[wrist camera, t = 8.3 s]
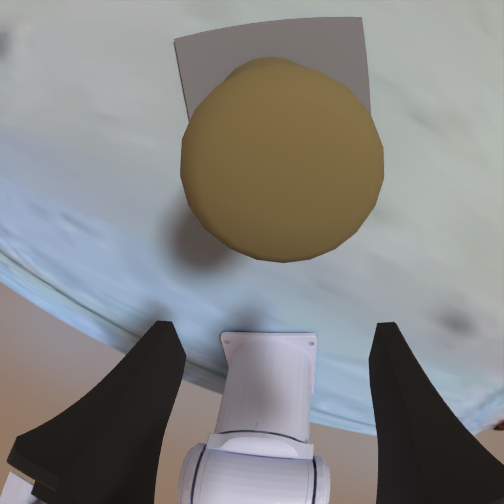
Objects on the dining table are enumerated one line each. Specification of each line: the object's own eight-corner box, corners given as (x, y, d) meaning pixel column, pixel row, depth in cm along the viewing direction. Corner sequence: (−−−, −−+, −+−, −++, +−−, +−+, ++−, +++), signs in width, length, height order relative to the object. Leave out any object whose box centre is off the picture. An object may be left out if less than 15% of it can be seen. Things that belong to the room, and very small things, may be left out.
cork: (217, 164, 17) (168, 298, 8) (211, 58, 14) (130, 55, 5) (325, 164, 17) (392, 296, 8) (329, 59, 14) (435, 63, 5)
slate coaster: (367, 181, 19) (371, 188, 18) (211, 191, 20) (206, 198, 19) (357, 19, 13) (361, 17, 12) (181, 39, 15) (174, 39, 14)
